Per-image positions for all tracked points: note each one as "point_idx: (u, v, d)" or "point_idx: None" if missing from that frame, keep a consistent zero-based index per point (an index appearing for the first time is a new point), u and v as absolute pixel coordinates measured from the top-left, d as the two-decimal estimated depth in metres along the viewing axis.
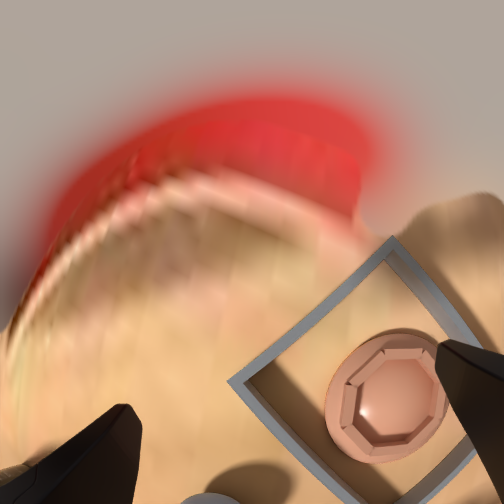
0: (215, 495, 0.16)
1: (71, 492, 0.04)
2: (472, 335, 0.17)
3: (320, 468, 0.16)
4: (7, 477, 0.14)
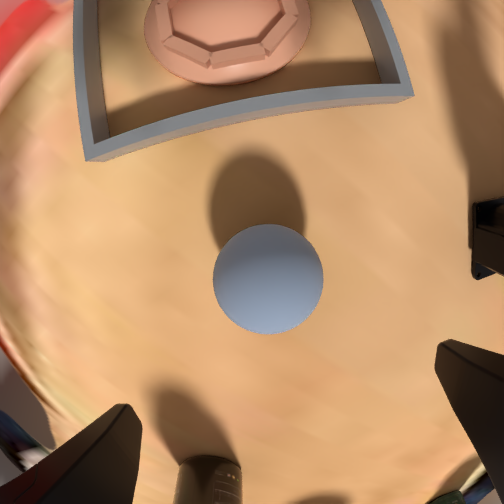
0: None
1: (71, 492, 0.04)
2: None
3: (240, 101, 0.14)
4: (178, 494, 0.20)
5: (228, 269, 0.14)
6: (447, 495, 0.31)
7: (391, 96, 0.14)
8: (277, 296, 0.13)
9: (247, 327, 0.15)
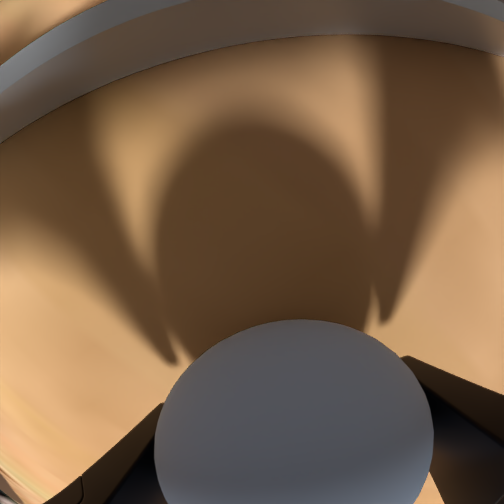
0: (176, 382, 0.05)
1: None
2: None
3: None
4: None
5: (182, 494, 0.03)
6: None
7: None
8: None
9: None
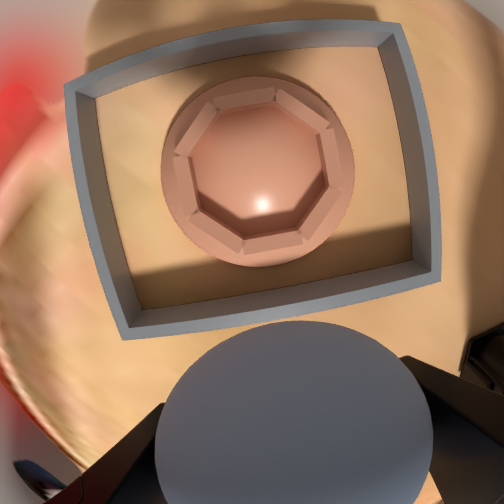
0: (176, 384, 0.05)
1: None
2: (243, 28, 0.12)
3: (276, 308, 0.16)
4: None
5: (183, 495, 0.03)
6: None
7: None
8: None
9: None
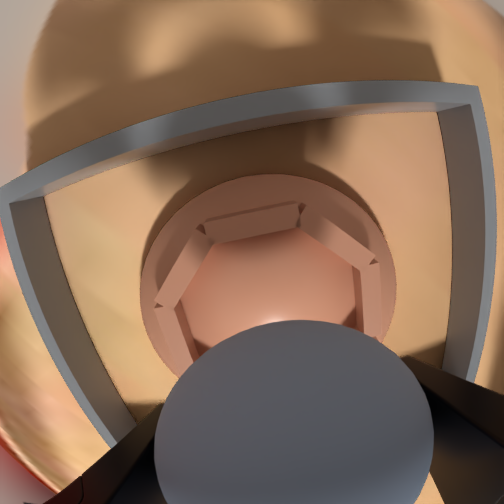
0: (176, 383, 0.05)
1: None
2: (247, 98, 0.08)
3: None
4: None
5: (183, 495, 0.03)
6: None
7: None
8: None
9: None
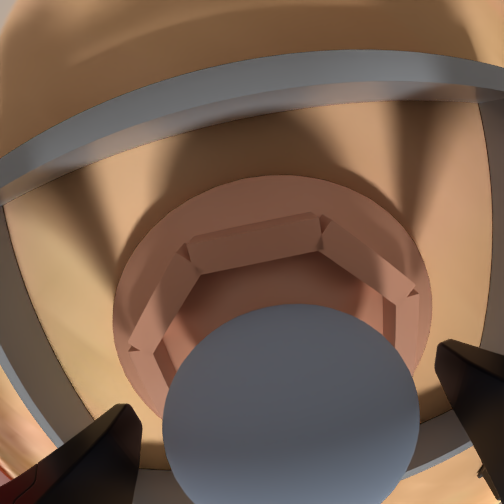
0: (183, 362, 0.06)
1: (72, 492, 0.04)
2: (248, 65, 0.05)
3: None
4: None
5: (190, 459, 0.04)
6: None
7: None
8: None
9: None
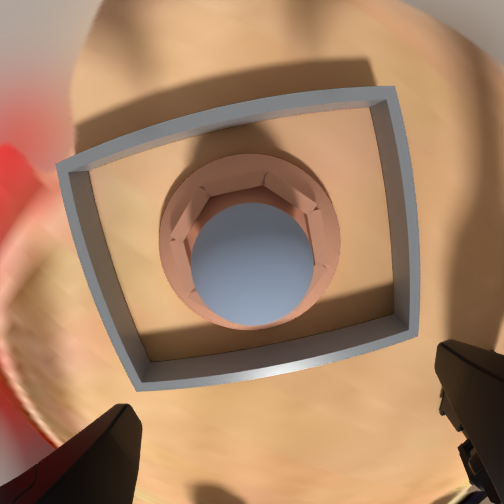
0: None
1: (71, 492, 0.04)
2: (230, 107, 0.14)
3: (268, 367, 0.18)
4: None
5: (206, 251, 0.12)
6: None
7: None
8: (261, 280, 0.12)
9: (228, 317, 0.13)
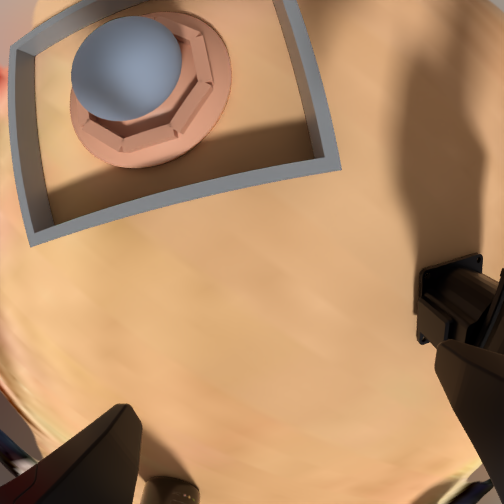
0: None
1: (72, 492, 0.04)
2: None
3: (146, 197, 0.15)
4: None
5: None
6: None
7: None
8: (110, 42, 0.09)
9: (86, 93, 0.11)
